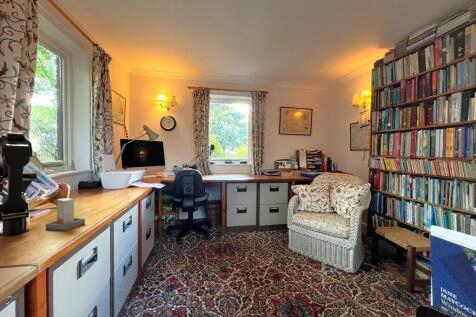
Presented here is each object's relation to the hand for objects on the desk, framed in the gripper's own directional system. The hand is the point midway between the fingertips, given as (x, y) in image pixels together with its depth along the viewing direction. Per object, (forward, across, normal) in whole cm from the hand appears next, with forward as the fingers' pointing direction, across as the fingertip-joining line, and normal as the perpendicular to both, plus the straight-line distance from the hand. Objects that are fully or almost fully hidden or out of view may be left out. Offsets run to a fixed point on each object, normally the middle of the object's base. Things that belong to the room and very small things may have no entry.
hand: (11, 196), depth 102 cm
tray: (+13, -3, +25) cm, 28 cm away
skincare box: (+13, -3, +25) cm, 28 cm away
